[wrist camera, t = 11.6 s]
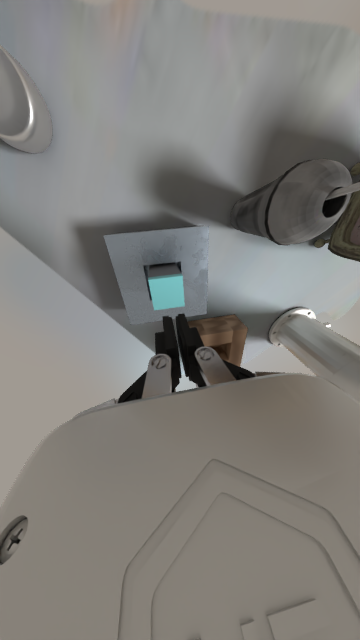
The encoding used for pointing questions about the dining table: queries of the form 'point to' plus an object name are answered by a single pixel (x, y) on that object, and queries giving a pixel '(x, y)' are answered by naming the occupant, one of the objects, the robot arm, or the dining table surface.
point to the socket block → (156, 248)
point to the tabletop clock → (346, 228)
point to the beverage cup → (296, 203)
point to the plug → (166, 286)
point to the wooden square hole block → (223, 336)
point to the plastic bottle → (22, 108)
